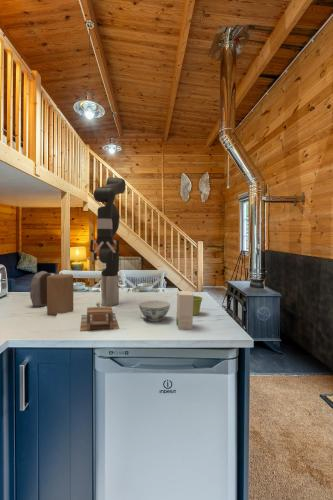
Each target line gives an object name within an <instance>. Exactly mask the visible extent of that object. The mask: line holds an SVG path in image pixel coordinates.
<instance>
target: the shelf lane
mask: <svg viewBox="0 0 333 500" xmlns="http://www.w3.org/2000/svg"><path fill="white" fill-rule="evenodd" d="M112 307H113V306H100V307H97V306H91V307H87V308H86V314H81V320H80V329H79V332H95V331H108V330H109V331H110V330H111V331H112V330H120V325H119V323H118V319H117V316H116V313H114V312H113V308H112ZM96 314H106V320H103V321H92V315H96Z"/></svg>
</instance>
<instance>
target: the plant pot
mask: <svg viewBox="0 0 333 500" xmlns="http://www.w3.org/2000/svg"><path fill="white" fill-rule="evenodd" d="M202 302H203V297H202V296H198V295H194V299H193V316H199V315H200V313H201V312H200V310H201V305H202ZM198 314H199V315H198Z"/></svg>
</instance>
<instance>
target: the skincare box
mask: <svg viewBox="0 0 333 500" xmlns="http://www.w3.org/2000/svg"><path fill="white" fill-rule="evenodd" d="M176 296H177V297H176V321H175V322H176V323H175V324H176V326H177V329H178V330H179V329H184V330H193V324H194V323H193V318H194V315H193V299H194V296H195V295H194V293H193V292H192V291H191V290H177V295H176Z"/></svg>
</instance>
